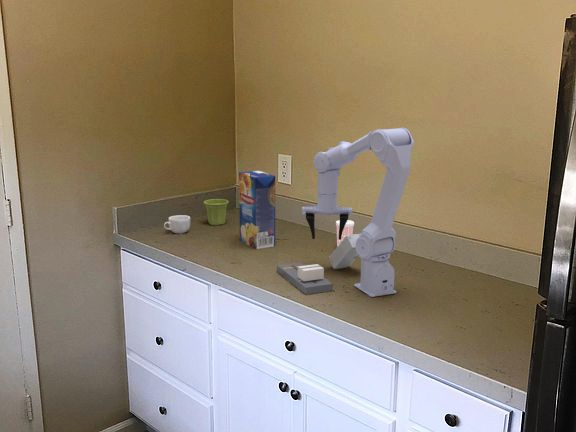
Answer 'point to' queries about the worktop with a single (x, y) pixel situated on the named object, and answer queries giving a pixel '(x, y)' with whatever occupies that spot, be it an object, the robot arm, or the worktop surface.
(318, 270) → the fader
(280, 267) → the mixing panel
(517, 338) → the worktop surface
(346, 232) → the beverage cup
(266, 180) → the juice carton
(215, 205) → the plant pot
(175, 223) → the teacup
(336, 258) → the skincare box
